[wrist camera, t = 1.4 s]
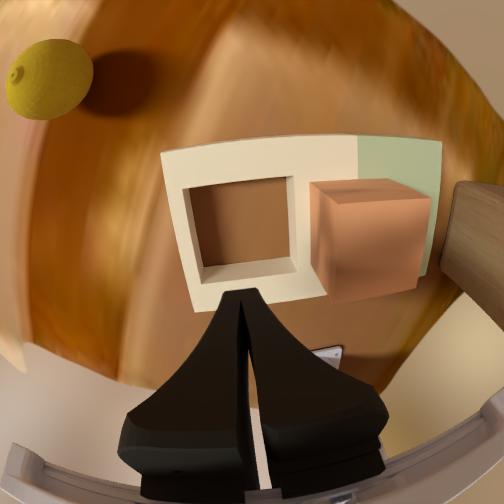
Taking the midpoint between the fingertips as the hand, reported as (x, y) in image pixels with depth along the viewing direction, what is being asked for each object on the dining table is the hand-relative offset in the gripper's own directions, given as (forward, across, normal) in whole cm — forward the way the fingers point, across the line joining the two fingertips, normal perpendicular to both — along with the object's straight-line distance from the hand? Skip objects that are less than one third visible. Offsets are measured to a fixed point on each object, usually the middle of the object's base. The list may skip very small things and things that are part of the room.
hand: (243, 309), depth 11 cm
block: (+8, -8, 0) cm, 11 cm away
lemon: (+11, +10, -13) cm, 20 cm away
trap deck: (+10, -6, 0) cm, 12 cm away
